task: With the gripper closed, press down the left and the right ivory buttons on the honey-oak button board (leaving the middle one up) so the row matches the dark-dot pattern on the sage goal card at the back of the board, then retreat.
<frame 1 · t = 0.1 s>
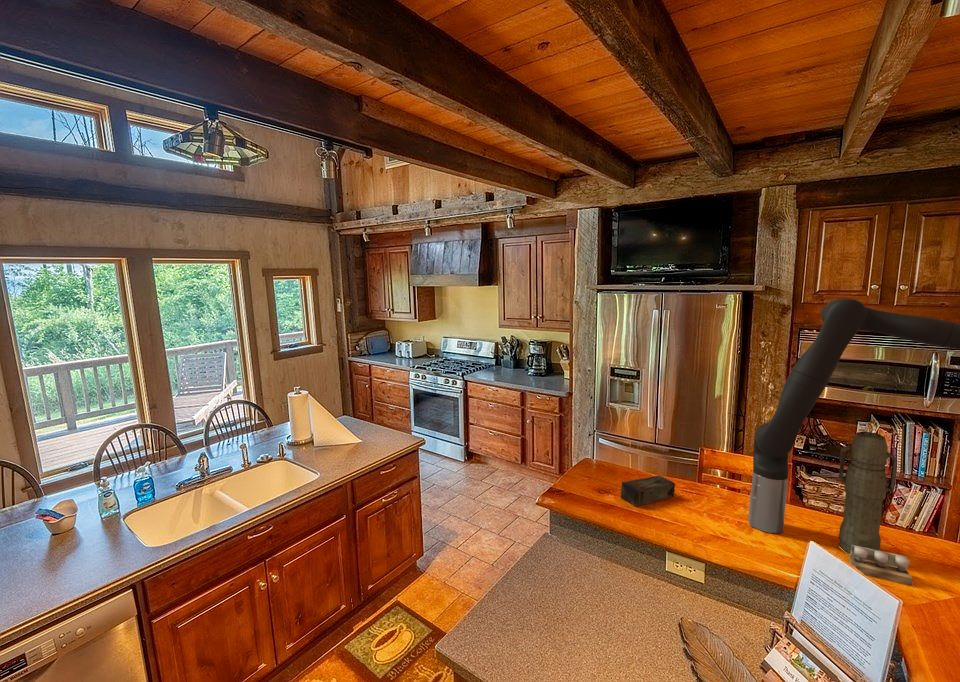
button right: (901, 564, 113), point 4 cm above the countertop, slide at 0.0 cm
button middle: (880, 560, 115), point 4 cm above the countertop, slide at 0.0 cm
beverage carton: (647, 498, 157), on the countertop
button left: (860, 555, 117), point 4 cm above the countertop, slide at 0.0 cm
thermos: (857, 551, 125), on the countertop
button board: (879, 572, 115), on the countertop
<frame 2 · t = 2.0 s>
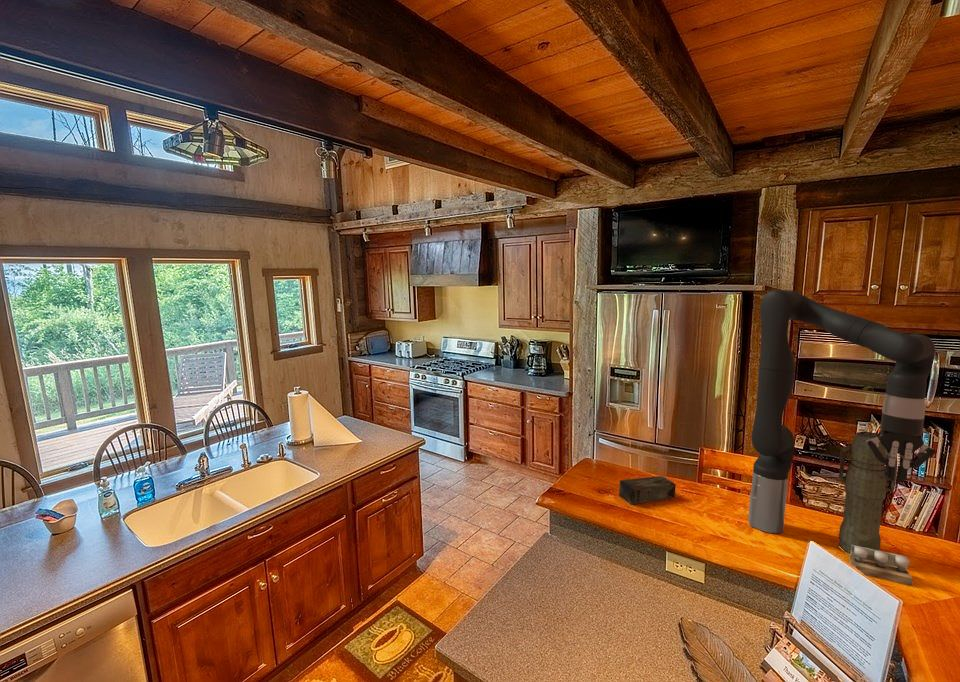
hand: (895, 480, 109), 27 cm above the countertop, fingers closed
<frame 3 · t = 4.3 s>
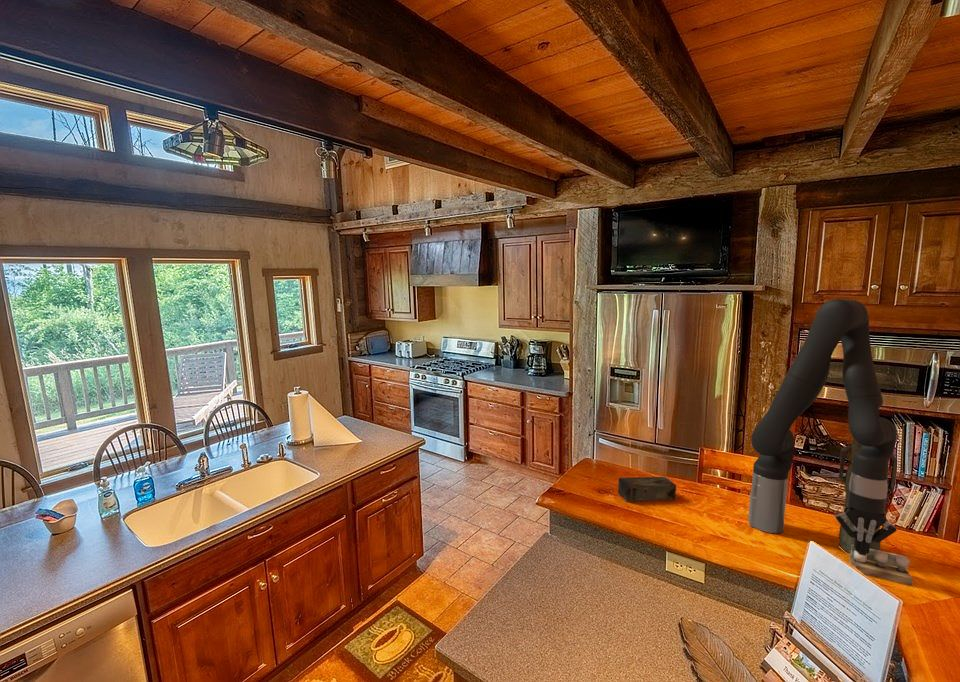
hand: (861, 553, 117), 4 cm above the countertop, fingers closed
button left: (859, 559, 117), point 2 cm above the countertop, slide at 1.2 cm
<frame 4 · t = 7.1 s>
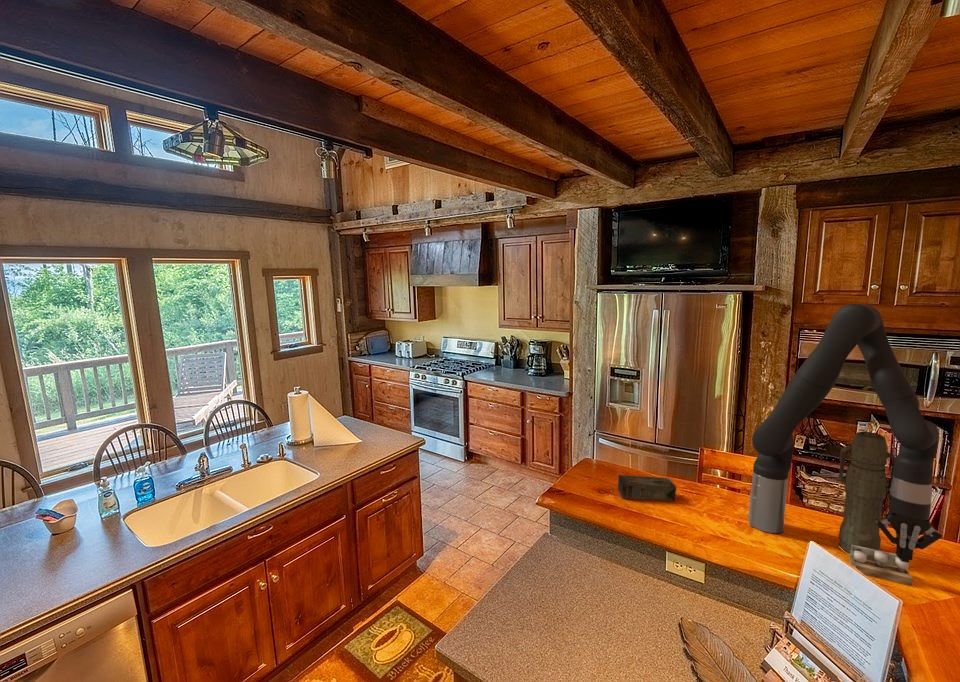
hand: (903, 560, 113), 5 cm above the countertop, fingers closed
button right: (901, 566, 113), point 3 cm above the countertop, slide at 0.5 cm, touching gripper
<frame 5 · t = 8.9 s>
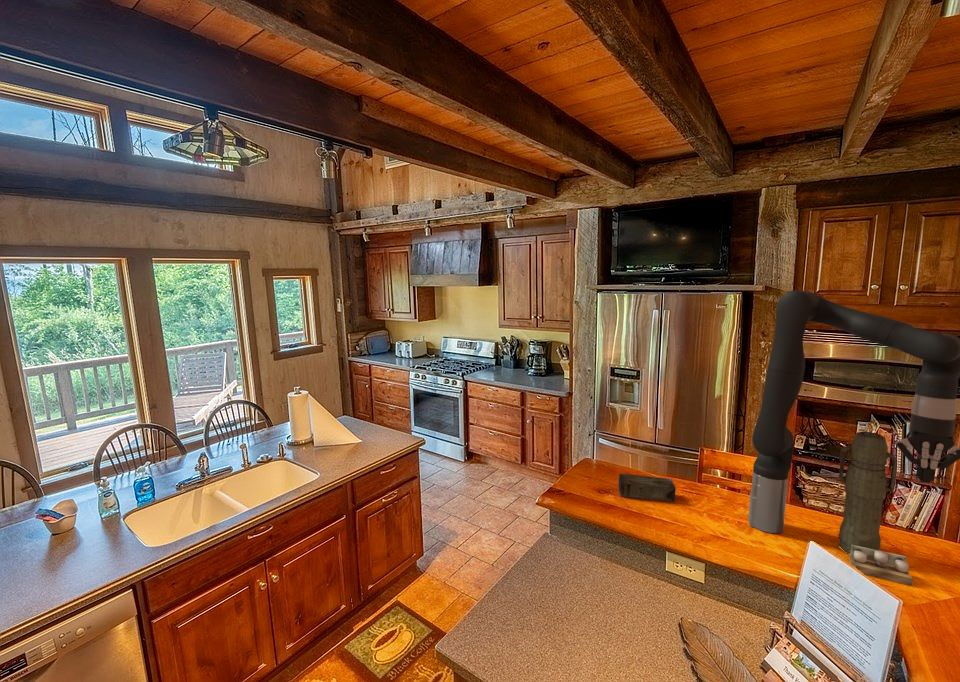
hand: (924, 481, 108), 27 cm above the countertop, fingers closed
button right: (901, 569, 113), point 2 cm above the countertop, slide at 1.3 cm
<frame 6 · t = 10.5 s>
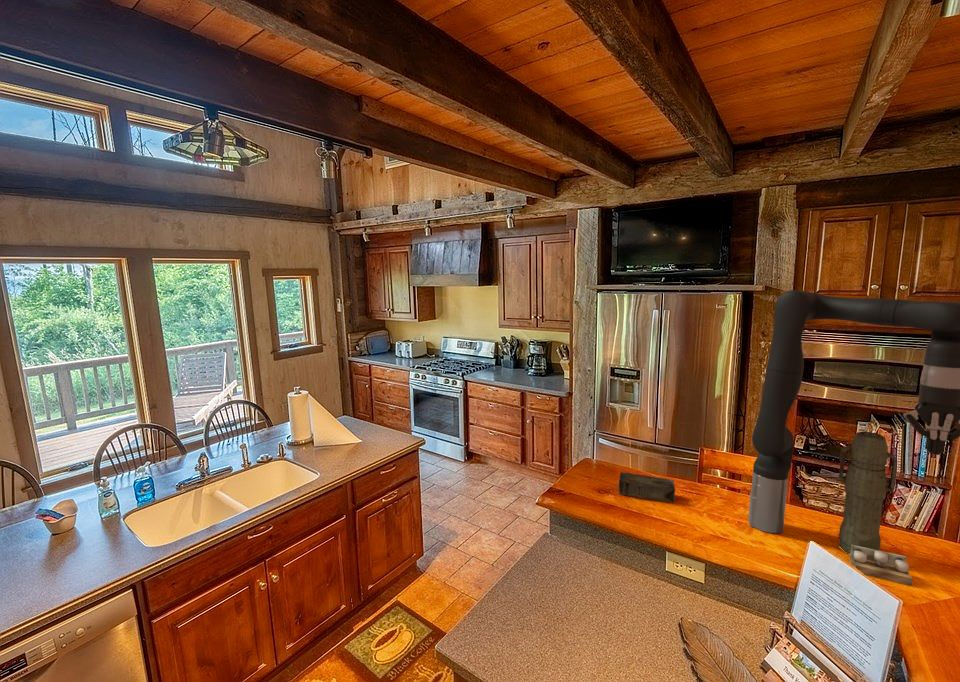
hand: (933, 453, 106), 35 cm above the countertop, fingers closed
at the end: button left slide at 1.3 cm; button right slide at 1.3 cm; button middle slide at 0.0 cm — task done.
